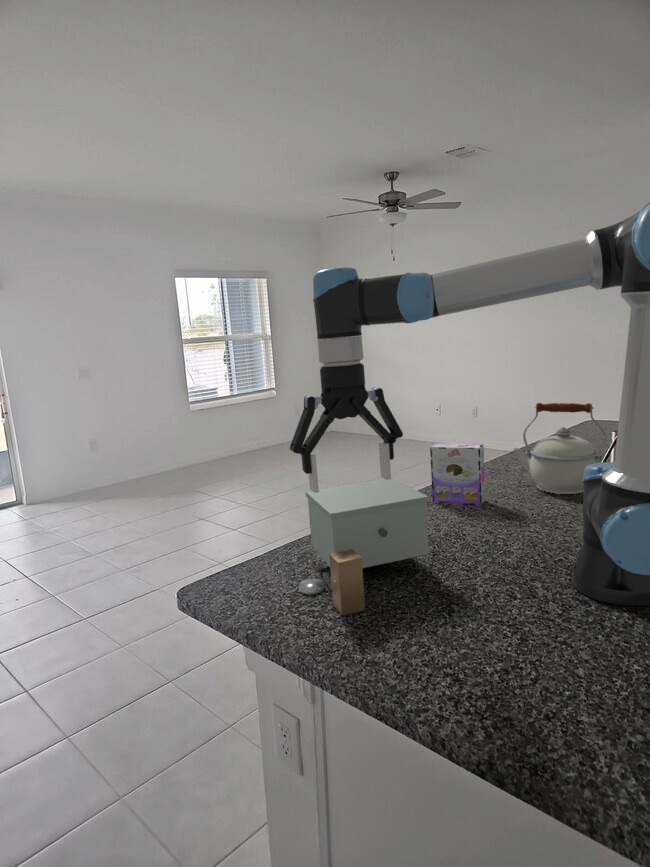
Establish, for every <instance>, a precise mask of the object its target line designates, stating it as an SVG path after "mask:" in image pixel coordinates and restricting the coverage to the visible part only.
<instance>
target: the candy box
mask: <svg viewBox="0 0 650 867" xmlns="http://www.w3.org/2000/svg"><path fill="white" fill-rule="evenodd" d="M484 445H485V444H484V443H455V442H454V443H450V442H449V443H447V442H445V443H444V442H443V443H442V442H435V443H434V444H432V445H431V446H430V447H429V452H430V454H429V455H430V470H431V471H430V473H431V474H430V476H431V490H432V491H431V492H432V493H431V494H432V497H431V499H432V503H433V502H436V503H435V504H442V503H451V504H450V505H455V504H461V505H460V506H471V505H474V507H482V506H483V504H484V503H485V501H486V480H485V479H486V478H485V476H486V473H485V447H484Z"/></svg>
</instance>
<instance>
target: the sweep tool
mask: <svg viewBox="0 0 650 867" xmlns="http://www.w3.org/2000/svg"><path fill="white" fill-rule="evenodd" d="M329 555H330V566H329V570H330V571H323V572H322V581H323V582H324V584H326V585H327V586H328V588H329V589H330V591H331V593H332V605H333V606H334V608H335V609H336V610H337V611H338V613H339V614H340V615H341V617H342V616H346V615H350V614H354V613H359V612H363V611H366V603H365V602H366V601H365V588H364V587H365V586H364V574H363V572H364V571H363V569H364V568H362V557H360V556H359V555H358V554H357V553H356V552H355V551H354V550H353V549H350V550H345V551H340V552H335V553H330V554H329Z"/></svg>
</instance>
